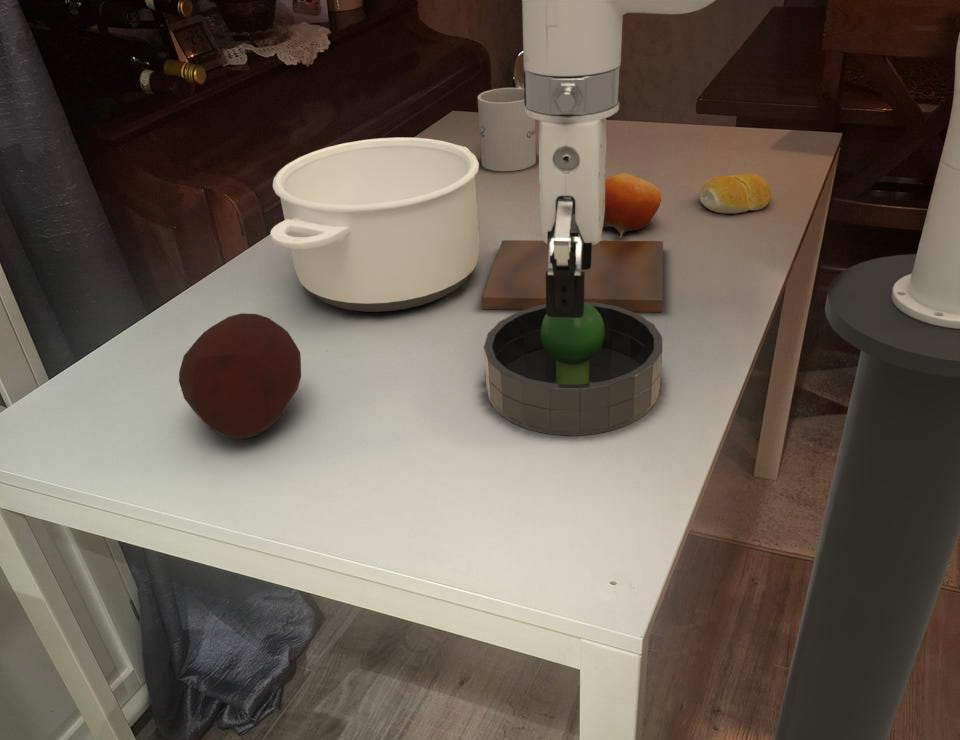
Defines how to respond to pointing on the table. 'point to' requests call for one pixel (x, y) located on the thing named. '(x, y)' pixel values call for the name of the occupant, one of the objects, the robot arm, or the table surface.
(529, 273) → the board
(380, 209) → the pot
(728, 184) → the bread roll
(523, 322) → the pan
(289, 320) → the table surface
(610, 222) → the fruit
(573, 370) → the broccoli
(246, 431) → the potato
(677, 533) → the table surface
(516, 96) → the mug
